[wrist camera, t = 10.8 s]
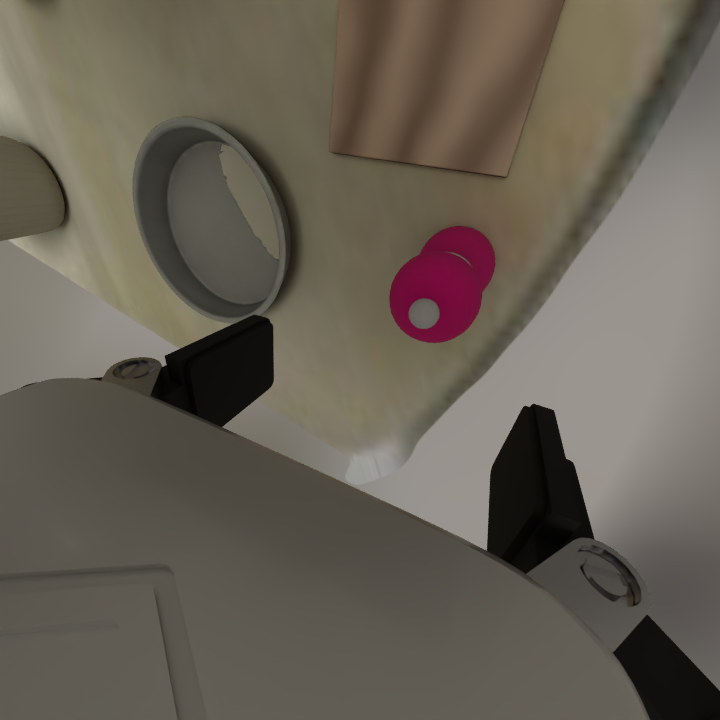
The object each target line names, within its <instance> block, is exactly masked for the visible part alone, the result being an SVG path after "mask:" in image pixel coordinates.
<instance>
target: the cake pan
mask: <svg viewBox="0 0 720 720" xmlns="http://www.w3.org/2000/svg"><path fill="white" fill-rule="evenodd" d="M222 144H224V145H228V146H231V147H233V148H234V149H235V150H236V151H237V152H238V153H239V154H240V155H241V156H242V157H243V159H244V160H245V161H246V162H247V163H248V165H249V166H250V167H251V169H252V170H253V172H254V173H255V175H256V176H257V178H258V180H259V181H260V183H261V185H262V187H263V189H264V191H265V193H266V195H267V198H268V200H269V202H270V205H271V208H272V211H273V214H274V218H275V222H276V226H277V231H278V238H279V260H278V259H275V258H274V257H273V256H272V255H271V254H270V253H269V252H268V251H267V249H266V247H264V246H263V244H262V242H261V240H260V239H259V238H258V237H256V236H255V235H254V233H253V231H252V229H251V228H250V226H249V224H248V222H247V221H246V219H245V217H244V215H243V213H242V212H241V210H240V208H239V206H238V204H237V203H236V201H235V199H234V197H233V195H232V194H231V192H230V190H229V188H228V186H227V182H226V178H227V177H226V176H223V171H222V167H221V162H220V158H219V154H220V153H222V152H223V151H220V149H221V145H222ZM133 202H134V209H135V215H136V220H137V224H138V227H139V231H140V234H141V237H142V240H143V242H144V245H145V247H146V249H147V252H148V254H149V256H150V258H151V260H152V262H153V263H154V265H155V267H156V269H157V270H158V272H159V273H160V275H161V276H162V278H163V279H164V281H165V282H166V283H167V284H168V286H169V287H170V288H171V289H172V290H173V292H174V293H175V294H176V295H177V296H178V297H179V298H180V299H181V300H182V301H184V302H185V303H186V304H187V305H188V306H190V307H191V308H192V309H194V310H195V311H197V312H198V313H200V314H202V315H204V316H206V317H208V318H210V319H213V320H215V321H219V322H224V323H237V322H239V321H241V320H243V319H245V318H247V317H249V316H252V315H258V316H259V315H261V314H262V313H263V312H265V311H266V309H267V308H268V307H269V306H270V305H271V304H272V302H273V301H274V299H275V298H276V296H277V294H278V291H279V289H280V286H281V284H282V282H283V280H284V278H285V275H286V273H287V270H288V266H289V261H290V253H291V237H290V228H289V223H288V219H287V215H286V211H285V208H284V205H283V203H282V200H281V198H280V195H279V193H278V191H277V189H276V188H275V186H274V184H273V182H272V181H271V179H270V178H269V176H268V175H267V173H266V172H265V171H264V170H263V168H262V167H261V166H260V165H259V164H258V163H257V162H256V161H255V160H254V159H253V158H252V156H251V155H250V154H249V152H248V151H247V150H246V149H245V148H244V147H243V146H242V145H241V144H240V143H239V142H238V141H237V140H236V139H235V138H234V137H232V136H231V135H230V134H229V133H228V132H226V131H224V130H223V129H222V128H220V127H218V126H217V125H215V124H213V123H210V122H208V121H205V120H202V119H199V118H195V117H176V118H172V119H169V120H166V121H164V122H162V123H161V124H159V125H158V126H156V127H155V128H154V129H153V130H152V131H151V132H150V133H149V134H148V136H147V137H146V139H145V140H144V142H143V143H142V145H141V147H140V150H139V152H138V155H137V158H136V162H135V167H134V173H133Z"/></svg>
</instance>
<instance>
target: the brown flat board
mask: <svg viewBox="0 0 720 720" xmlns="http://www.w3.org/2000/svg"><path fill="white" fill-rule="evenodd" d="M563 3H564V0H339V12H338V27H337V42H336V56H335V71H334V86H333V100H332V115H331V130H330V145H329V152H332V153H337V154H344V155H351V156H358V157H365V158H372V159H380V160H387V161H394V162H401V163H408V164H415V165H422V166H429V167H436V168H443V169H450V170H458V171H465V172H472V173H479V174H486V175H493V176H500V177H507V174H508V171H509V168H510V165H511V162H512V158H513V155H514V152H515V149H516V146H517V143H518V140H519V137H520V134H521V131H522V128H523V125H524V122H525V119H526V116H527V113H528V110H529V107H530V104H531V100H532V97H533V94H534V91H535V88H536V85H537V82H538V79H539V76H540V73H541V70H542V67H543V64H544V61H545V58H546V55H547V52H548V49H549V45H550V42H551V39H552V36H553V33H554V30H555V27H556V24H557V21H558V18H559V15H560V12H561V9H562V6H563Z"/></svg>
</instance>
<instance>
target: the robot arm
mask: <svg viewBox="0 0 720 720" xmlns="http://www.w3.org/2000/svg"><path fill="white" fill-rule="evenodd" d="M165 359H166V364H167V365H166V366H164V367H162V366H161V363H160V362H159V361H158V360H156V359H152V358H146V357H139V358H131V359H127V360H123V361H121V362H118V363H116V364H114V365H113V366H111V367H110V368H109V369H108V370H107V372H106V373H105V375H104V376H103V377H101V378H90V379H81V378H59V379H50V380H45V381H41V382H38V383H32V384H29V385H26V386H23V387H21V388H20V389H17V390H14V391H11V392H8V393H5V394H3V395H0V720H720V691H719V690H718V689H717V688H716V687H715V685H714V684H713V683H712V682H711V681H710V680H709V679H708V678H707V677H706V676H705V675H704V674H703V673H702V672H701V671H700V670H699V669H698V668H697V666H695V664H694V663H693V662H692V661H691V660H690V659H689V658H688V657H687V656H686V655H685V654H684V653H683V652H682V651H681V650H680V649H679V648H678V646H676V644H675V643H674V642H673V641H672V640H671V639H670V638H669V637H668V636H667V635H666V634H665V633H664V632H663V631H662V630H661V629H660V627H659V626H658V625H657V624H656V623H655V622H654V621H653V620H652V619H651V618H650V617H649V616H648V615H647V614H648V612H649V610H650V607H651V598H650V593H649V591H648V588H647V586H646V584H645V582H644V580H643V579H642V577H641V576H640V575H639V573H638V572H637V570H636V569H635V568H634V567H633V566H632V565H631V564H630V563H629V562H628V561H627V560H626V559H625V558H624V557H623V556H622V555H620V554H619V553H618V552H617V551H615V550H614V549H612V548H611V547H609V546H607V545H605V544H604V543H602V542H599V541H596V540H594V536H593V532H592V529H591V525H590V521H589V517H588V514H587V510H586V506H585V503H584V499H583V495H582V492H581V488H580V484H579V480H578V477H577V473H576V469H575V466H574V464H573V462H571V461H570V460H567V459H566V457H565V453H564V449H563V445H562V441H561V437H560V433H559V429H558V424H557V420H556V416H555V412H554V410H552V409H548V408H545V407H542V406H539V405H536V404H532V405H531V406H530V407H527V406H524V407H523V408H522V410H521V412H520V414H519V416H518V418H517V420H516V422H515V423H514V425H513V427H512V430H511V431H510V433H509V435H508V437H507V439H506V441H505V443H504V444H503V446H502V448H501V450H500V452H499V454H498V456H497V458H496V460H495V462H494V464H493V466H492V469H491V475H490V496H489V519H488V520H489V521H488V541H487V542H488V543H487V551H486V550H484V549H482V548H480V547H478V546H476V545H474V544H472V543H470V542H468V541H467V540H465V539H463V538H461V537H459V536H456V535H454V534H452V533H450V532H448V531H446V530H444V529H442V528H440V527H438V526H436V525H434V524H431V523H429V522H427V521H425V520H423V519H421V518H419V517H417V516H415V515H413V514H411V513H408V512H406V511H404V510H402V509H400V508H398V507H395V506H393V505H391V504H389V503H387V502H385V501H382V500H380V499H378V498H376V497H374V496H372V495H369V494H367V493H365V492H363V491H361V490H359V489H356V488H354V487H352V486H350V485H348V484H345V483H343V482H341V481H339V480H336V479H335V478H333V477H330V476H328V475H326V474H324V473H321V472H319V471H317V470H315V469H313V468H311V467H308V466H306V465H304V464H302V463H300V462H297V461H295V460H293V459H291V458H289V457H287V456H284V455H282V454H280V453H278V452H275V451H273V450H271V449H269V448H267V447H264V446H262V445H260V444H258V443H256V442H253V441H251V440H249V439H247V438H244V437H242V436H240V435H238V434H236V433H233V432H231V431H229V430H227V429H224V428H222V427H223V426H224V425H225V424H226V423H227V422H229V421H230V420H231V419H232V418H234V417H235V416H236V415H237V414H239V413H240V412H241V411H242V410H243V409H245V408H246V407H247V406H248V405H250V404H251V403H252V402H253V401H254V400H256V399H257V398H258V397H259V396H261V395H262V394H263V393H264V392H266V391H267V390H268V389H269V388H270V387H271V386H272V384H273V381H274V362H273V325H272V324H271V323H270V320H269V319H268V318H265V317H262V316H258V315H252V316H249V317H247V318H245V319H243V320H241V321H239V322H237V323H234V324H232V325H230V326H228V327H226V328H224V329H222V330H219V331H217V332H215V333H213V334H211V335H209V336H207V337H204V338H202V339H200V340H198V341H196V342H194V343H192V344H189V345H187V346H185V347H183V348H181V349H179V350H177V351H174V352H172V353H170V354H168V355H166V356H165Z"/></svg>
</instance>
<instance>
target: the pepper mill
mask: <svg viewBox="0 0 720 720" xmlns="http://www.w3.org/2000/svg"><path fill="white" fill-rule="evenodd" d="M494 268H495V255H494V251H493V248H492V246H491V244H490V242H489V241H488V239H487V238H486V237H485V236H484V235H483V234H481V233H480V232H479V231H477V230H475V229H473V228H469V227H464V226H455V227H449V228H446V229H443V230H442V231H440V232H438V233H436V234H435V235H434V236H433V237H432V238H431V239H430V240H429V241H428V242H427V243H426V244H425V246H424V247H423V249H422V251H421V253H420V255H418V256H416V257H414V258H412V259H411V260H410V261H408V262H407V263H406V264H405V265H403V267H402V268H401V269H400V270H399V272H398V273H397V275H396V276H395V278H394V280H393V282H392V286H391V290H390V297H389V298H390V308H391V313H392V315H393V317H394V320H395V322H396V323H397V325H398V326H399V327H400V329H401V330H402V331H404V332H405V333H406V334H407V335H409V336H410V337H412V338H414V339H417V340H420V341H423V342H428V343H438V342H445V341H448V340H451V339H453V338H455V337H457V336H459V335H460V334H462V333H463V332H464V331H465V330H467V329H468V328H469V327H470V325H471V324H472V322H473V321H474V320H475V318H476V316H477V314H478V312H479V309H480V306H481V299H482V291H483V290H484V289H485V288H486V286H487V285H488V283H489V282H490V280H491V278H492V275H493V272H494Z"/></svg>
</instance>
